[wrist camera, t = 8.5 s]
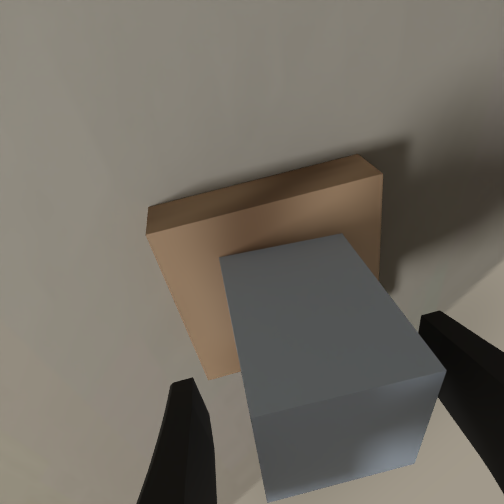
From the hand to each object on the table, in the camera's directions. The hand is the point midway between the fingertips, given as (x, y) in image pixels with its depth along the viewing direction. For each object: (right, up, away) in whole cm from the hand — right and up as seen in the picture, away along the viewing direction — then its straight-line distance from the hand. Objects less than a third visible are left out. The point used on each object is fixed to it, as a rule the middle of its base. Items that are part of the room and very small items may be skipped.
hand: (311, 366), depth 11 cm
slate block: (-1, +2, +3) cm, 4 cm away
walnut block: (-1, +3, +5) cm, 6 cm away
